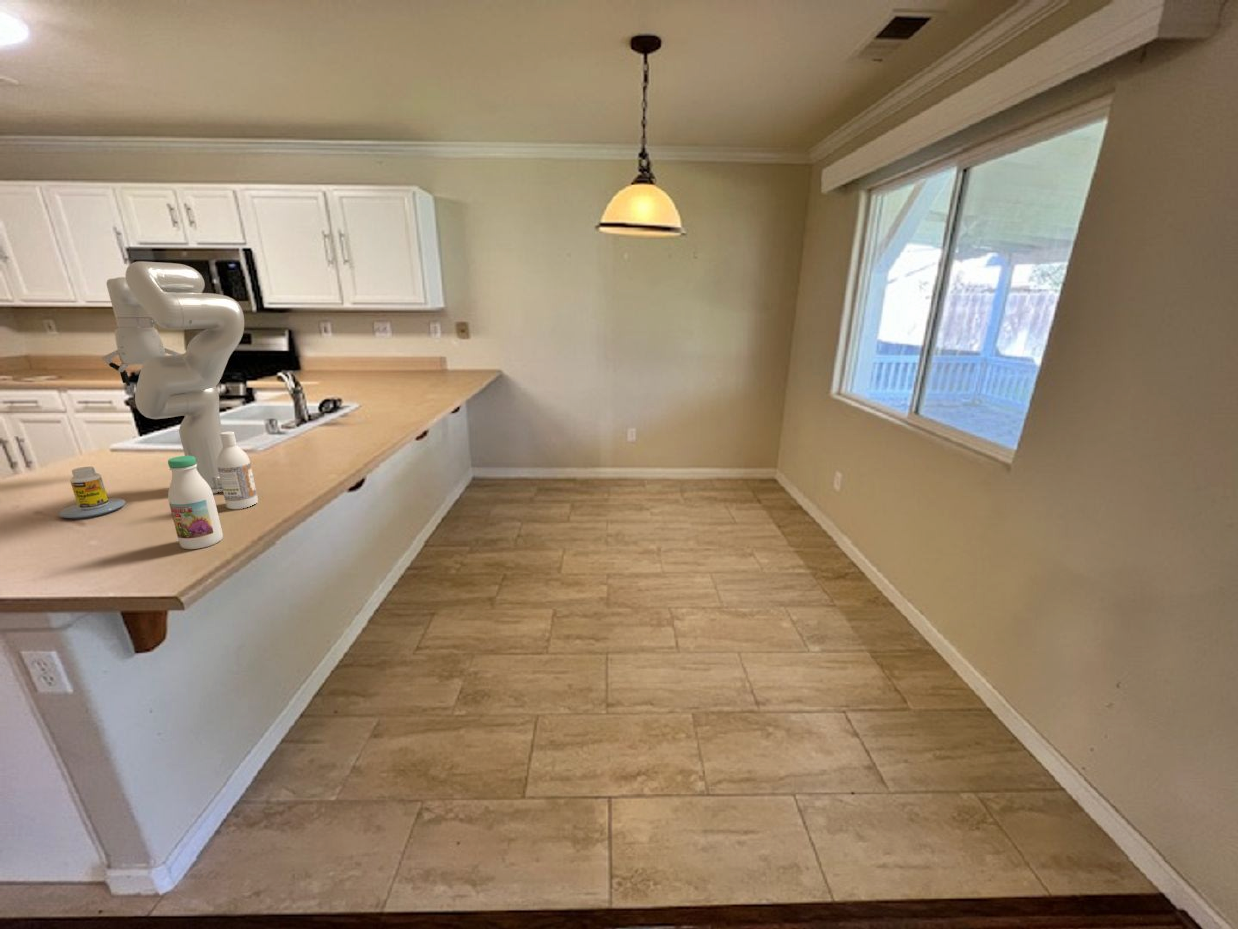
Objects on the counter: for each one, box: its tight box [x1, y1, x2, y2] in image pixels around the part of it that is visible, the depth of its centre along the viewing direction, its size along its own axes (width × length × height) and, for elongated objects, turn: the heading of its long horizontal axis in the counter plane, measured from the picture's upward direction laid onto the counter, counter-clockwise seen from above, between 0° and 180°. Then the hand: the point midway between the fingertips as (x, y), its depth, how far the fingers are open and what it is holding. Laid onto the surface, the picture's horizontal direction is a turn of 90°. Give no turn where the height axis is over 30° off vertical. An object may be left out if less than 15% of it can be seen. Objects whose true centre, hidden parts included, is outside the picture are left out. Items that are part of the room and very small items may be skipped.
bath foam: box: [217, 430, 259, 510], centre depth 135 cm, size 7×7×20 cm
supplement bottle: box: [69, 466, 109, 510], centre depth 131 cm, size 6×6×10 cm
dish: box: [58, 497, 126, 520], centre depth 132 cm, size 12×12×1 cm
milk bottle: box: [167, 455, 224, 550], centre depth 113 cm, size 8×8×20 cm
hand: (150, 383), depth 153 cm, fingers open, 9 cm apart
